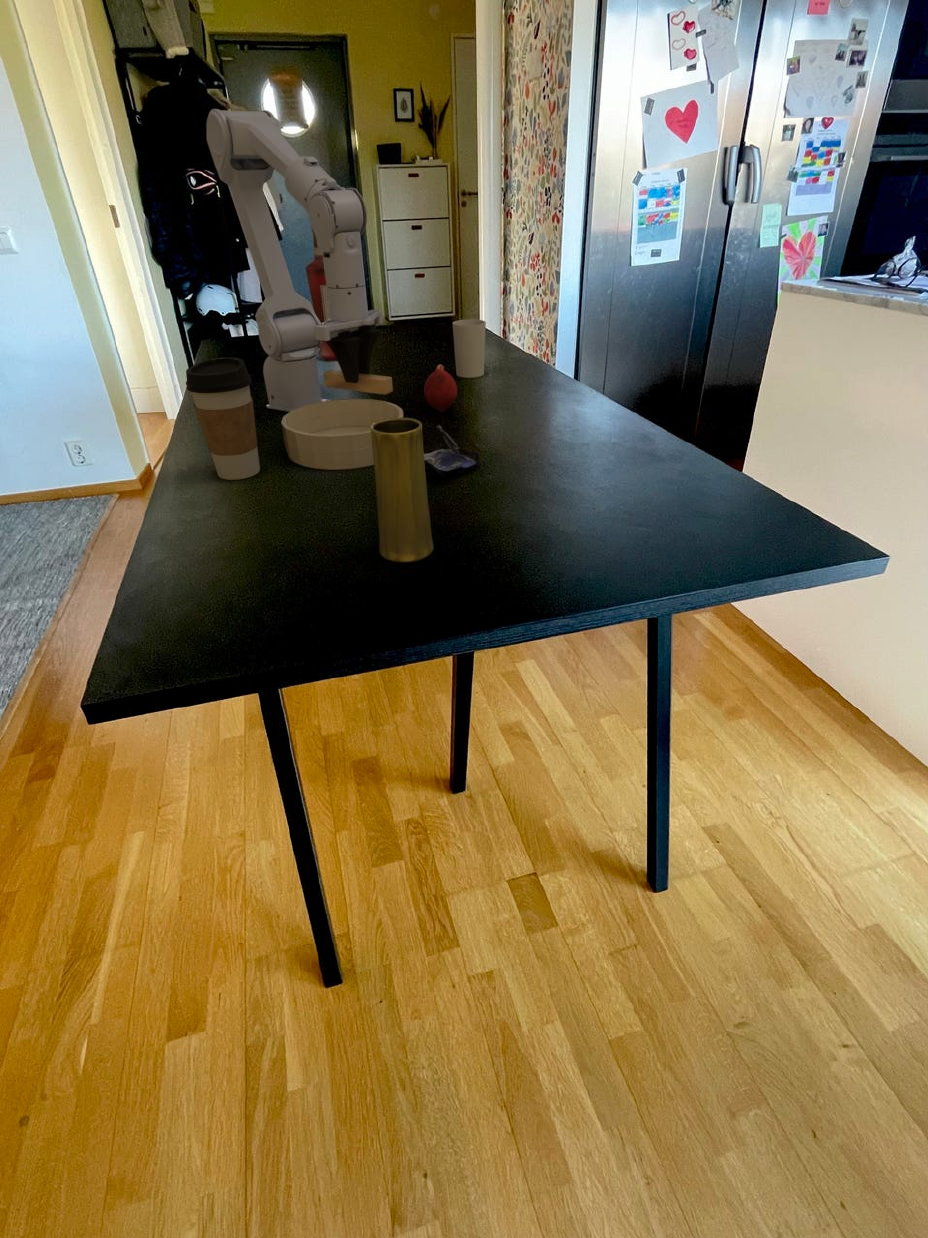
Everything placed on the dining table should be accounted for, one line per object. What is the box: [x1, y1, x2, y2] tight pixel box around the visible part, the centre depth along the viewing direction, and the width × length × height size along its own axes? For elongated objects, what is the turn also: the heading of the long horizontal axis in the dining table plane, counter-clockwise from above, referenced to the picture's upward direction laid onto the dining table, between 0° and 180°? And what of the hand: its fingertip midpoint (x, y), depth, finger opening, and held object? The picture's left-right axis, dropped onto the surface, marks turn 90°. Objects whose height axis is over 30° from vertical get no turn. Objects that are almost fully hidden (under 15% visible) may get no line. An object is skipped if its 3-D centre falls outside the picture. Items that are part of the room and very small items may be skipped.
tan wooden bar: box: [322, 369, 394, 396], centre depth 106 cm, size 12×2×2 cm, turn 61°
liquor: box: [305, 226, 337, 361], centre depth 146 cm, size 7×7×28 cm
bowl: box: [280, 398, 405, 471], centre depth 102 cm, size 18×18×5 cm
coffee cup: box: [185, 356, 261, 481], centre depth 92 cm, size 8×8×15 cm
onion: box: [423, 364, 458, 413], centre depth 115 cm, size 6×6×8 cm
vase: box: [371, 417, 435, 564], centre depth 71 cm, size 6×6×14 cm
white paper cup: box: [452, 318, 487, 379], centre depth 136 cm, size 7×7×10 cm
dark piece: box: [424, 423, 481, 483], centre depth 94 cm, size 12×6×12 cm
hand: (356, 379), depth 106 cm, fingers closed on tan wooden bar, 2 cm apart
